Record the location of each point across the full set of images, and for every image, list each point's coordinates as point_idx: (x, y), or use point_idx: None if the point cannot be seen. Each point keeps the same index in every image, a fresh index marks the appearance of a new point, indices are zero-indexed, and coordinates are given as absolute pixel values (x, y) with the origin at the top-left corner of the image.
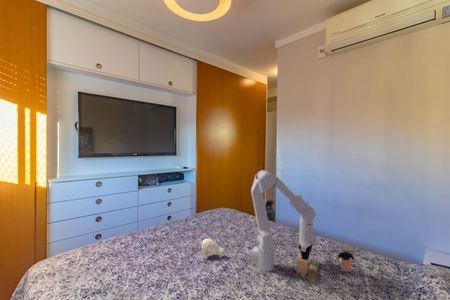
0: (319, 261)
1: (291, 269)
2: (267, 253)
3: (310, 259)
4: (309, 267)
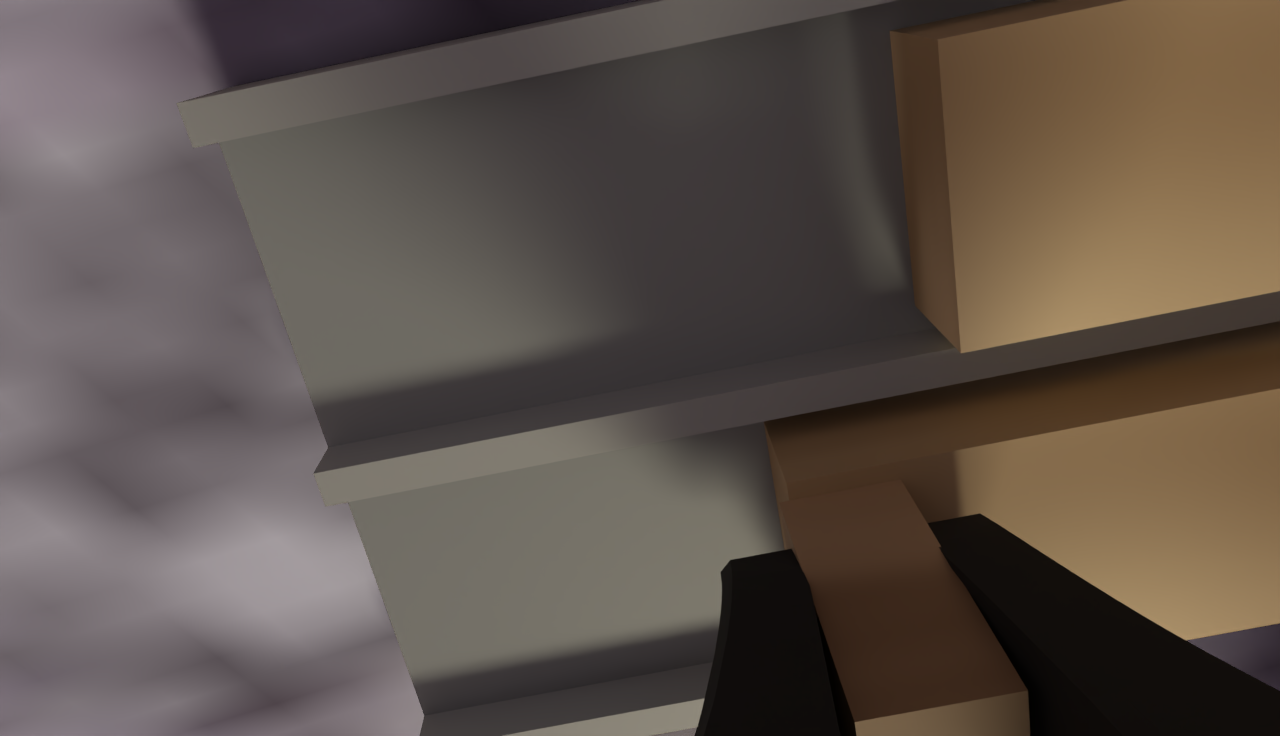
0: (222, 104)
1: None
2: None
3: (368, 487)
4: None
